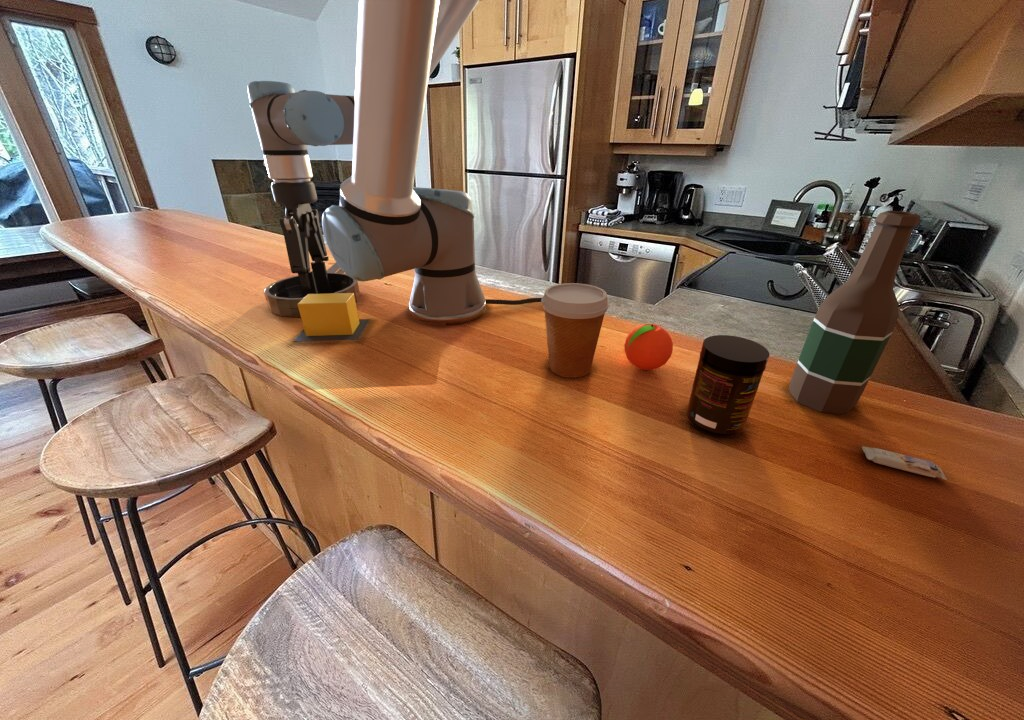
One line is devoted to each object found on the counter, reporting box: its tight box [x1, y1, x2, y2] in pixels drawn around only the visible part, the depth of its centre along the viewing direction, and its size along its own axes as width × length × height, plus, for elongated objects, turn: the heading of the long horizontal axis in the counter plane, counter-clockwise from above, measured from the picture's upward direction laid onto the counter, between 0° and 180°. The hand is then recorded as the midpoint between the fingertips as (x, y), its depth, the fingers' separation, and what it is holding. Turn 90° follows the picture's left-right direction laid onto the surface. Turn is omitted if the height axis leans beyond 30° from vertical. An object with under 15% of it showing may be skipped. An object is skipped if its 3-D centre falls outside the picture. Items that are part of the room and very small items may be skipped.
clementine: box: [623, 323, 674, 371], centre depth 61 cm, size 8×7×7 cm
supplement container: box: [685, 334, 771, 439], centre depth 48 cm, size 7×7×10 cm
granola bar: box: [861, 445, 948, 481], centre depth 44 cm, size 7×2×1 cm, turn 63°
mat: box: [292, 318, 371, 343], centre depth 74 cm, size 11×9×1 cm
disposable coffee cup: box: [540, 282, 610, 379], centre depth 60 cm, size 10×10×12 cm
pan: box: [263, 272, 361, 318], centre depth 86 cm, size 18×18×4 cm
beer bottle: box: [788, 210, 921, 415], centre depth 50 cm, size 8×8×24 cm
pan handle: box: [326, 261, 345, 273], centre depth 98 cm, size 3×11×2 cm, turn 4°
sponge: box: [298, 293, 360, 336], centre depth 73 cm, size 8×5×6 cm, turn 94°
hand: (318, 296), depth 88 cm, fingers open, 7 cm apart
